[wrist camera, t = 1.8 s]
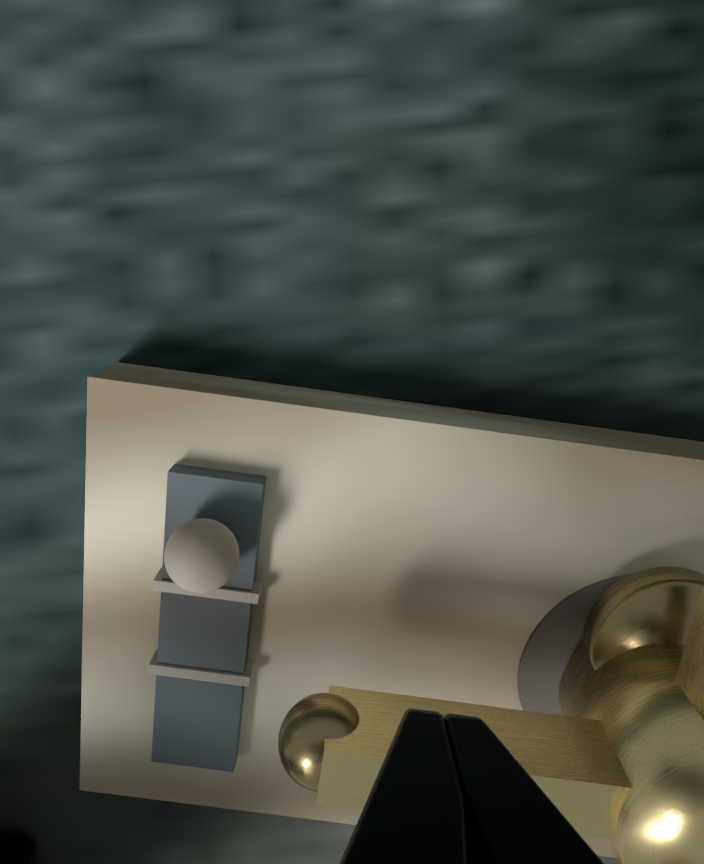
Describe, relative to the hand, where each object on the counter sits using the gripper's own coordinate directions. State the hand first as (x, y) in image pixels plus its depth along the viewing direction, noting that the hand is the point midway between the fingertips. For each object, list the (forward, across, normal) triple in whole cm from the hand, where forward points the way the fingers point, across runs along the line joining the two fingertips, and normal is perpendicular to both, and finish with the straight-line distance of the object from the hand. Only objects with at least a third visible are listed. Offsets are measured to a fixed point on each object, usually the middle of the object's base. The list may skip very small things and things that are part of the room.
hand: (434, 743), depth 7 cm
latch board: (+12, -4, +6) cm, 14 cm away
